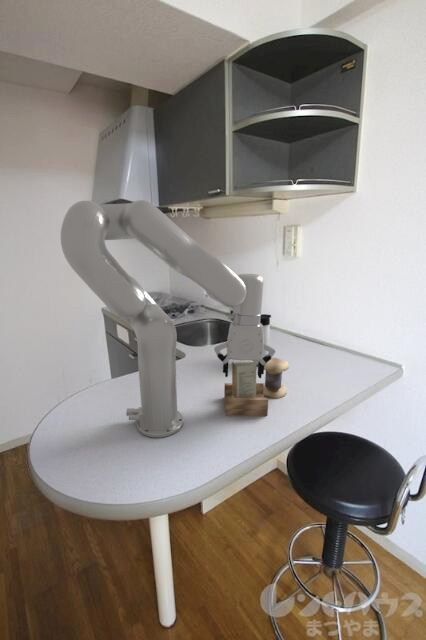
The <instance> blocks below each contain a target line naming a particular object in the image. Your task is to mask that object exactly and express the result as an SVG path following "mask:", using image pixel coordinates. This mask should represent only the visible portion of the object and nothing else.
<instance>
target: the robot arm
mask: <svg viewBox="0 0 426 640" xmlns="http://www.w3.org/2000/svg"><path fill="white" fill-rule="evenodd" d="M129 239H130V240H131V239H136V241H138V243H141V244H142V245H143V246H144V247H145V248H147V249H148V250H149V251H150V252H152V253H153V254H154V255H155V256H157V257H158V258H159V259H160V260H161V261H163V262H164V263H165V264H166V265H168V266H169V267H170V268H171V269H173V270H174V271H176V272H177V273H179V274H180V275H182V276H184V277H186V278H188V279H189V280H191V281H192V282H194V283H195V284H197V285H198V286H199V287H201V288H202V289H204V290H205V293H206V295H207V296H208V297H209V298H210V299H212V300H214V301H215V302H218V303H219V304H220V305H222V306H224V307H225V308H233V311H232V313H229V314H228V313H227V319H228V320H232V321H231V322H230V325H229V328H228V334H227V341H225V342H222V343H220V344H218V345H216V346H214V349H213V350H214V353H215V354H216V356H217V358H218V359H219V360H220V361H221V362H222V373H223V374H224V375H225V378H228V376H229V362H230V360H233V361H240V360H259V362H258V366H257V372H256V375H257V377H258V378H259V379H262V376H263V375H264V372H265V370H264V365H266V363H267V362H268V361H269V360H271V358H273V356H274V355H275V354H276V350H275V348H273V347H271V346H268V345H266V344H264V331H263V325H262V324H261V323H260V318H261V314H262V305H263V304H262V303H263V295H264V294H263V293H264V292H263V291H264V278H263V276H262V275H259V274H254V273H240V274H236V273H235V272H234V271H233V270H231V269H230V268H229V267H228V266H227V265H226V264H224V263H223V262H222V261H221V260H220V259H218V258H217V257H216V256H214V255H213V254H212V253H210V252H209V251H208V250H207V249H205V247H204V246H202V245H201V244H199V243H198V242H197V241H196V240H194V239H193V238H192V237H190V236H189V234H188V233H186V232H185V231H184V230H183V229H182V228H180V227H179V226H178V225H177V224H176V223H175V222H174V221H172V220H171V219H170V218H169V217H168V216H167V215H166V214H165V213H164V212H162V211H161V210H160V208H158V207H157V206H156V205H154V204H153V203H152V202H150V201H148V200H141V199H140V200H139V199H138V200H136V201H133V202H128V203H127V202H126V203H99V204H98V203H96V202H95V201H91V200H80V201H77V202H75V203H74V204H72V205H71V206H70V207H69V208H68V209H67V212H66V213H65V215H64V217H63V221H62V224H61V229H60V245H61V249H62V253H63V255H64V258H65V260H66V262H67V263H68V265H69V266H70V267H71V269H72V270H73V271H74V272H75V274H76V275H77V276H79V278H80V279H81V280H82V281H83V282H84V283H85V285H87V287H88V288H89V289H90V290H91V291H92V292H93V293H94V294H95V295H96V296H97V297H98V299H100V301H101V302H103V304H104V305H105V306H106V307H107V309H108V310H109V312H111V313H112V314H114V316H117V317H119V318H121V319H122V320H124V322H125V323H127V324H128V325H129V326H130V327H131V329H132V330H133V332H134V334H135V336H136V341H137V343H136V344H137V365H138V366H137V367H138V377H139V378H138V379H139V391H140V407H138V408H128V407H127V408H126V411H125V412H126V416H128V420H129V421H130V420H131V421H134V420H136V429H137V431H138V432H139V433H140V434H142V435H143V436H145V437H149V438H165V437H168V436H172V435H174V434H175V433H177V432H178V431H180V430H181V428H182V427H183V425H184V416H183V414H182V413H181V412H180V411H178V392H177V368H176V367H177V366H176V365H177V364H176V362H177V361H176V356H177V355H176V353H177V343H178V342H177V339H178V338H177V336H178V334H177V328H176V326H175V323H174V322H173V320H172V318H171V317H170V316H169V315H168V314H167V313H166V312H165V311H164V310H163V309H162V307H161V306H159V304H158V303H157V302H156V301H155V300H154V299H153V298H152V296H151V295H150V294H149V293H148V292H147V290H146V289H144V287H143V286H142V285H141V284H140V283H139V282H138V280H137V279H136V278H134V277H133V276H132V275H129V274H128V272H127V271H126V270H125V269H124V267H122V266H121V264H120V263H119V262H118V260H117V259H116V258H115V257H114V256H113V255H112V254H111V252H110V251H109V250H108V248H107V246H106V242H105V241H117V240H129ZM224 349H226V353H225V354H223V353H222V352H221V351H222V350H224ZM264 349H265V350H266V351H268V354H267V355H266V356H265V357H263V350H264Z"/></svg>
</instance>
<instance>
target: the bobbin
mask: <svg viewBox="0 0 426 640" xmlns="http://www.w3.org/2000/svg"><path fill="white" fill-rule="evenodd" d="M289 366H290V365H289V362H288V361H287V360H285V359H283V358H280V357H279V358H278V357H272V358H271V360H269V361H268V362H267V363H266V365H264V371H265V376H264V380H265V381H264V382H263V385H264V387H263V395H264V398H268V399H281V398H283V397H284V398H285V396H287V393H288V392H287V391H288V389H287V387H286V386H285V385H284V384H282V379H283V372H286V371H287V370H289Z"/></svg>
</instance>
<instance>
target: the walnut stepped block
mask: <svg viewBox="0 0 426 640" xmlns="http://www.w3.org/2000/svg"><path fill="white" fill-rule="evenodd" d="M263 383H264V382H263ZM263 383H257V382H256V398H232V382H231V383H229V382H227V383H224V413H225V416H229V417H230V416H232V417H233V416H234V417H235V416H236V417H237V416H238V417H239V416H241V417H242V416H246V417H247V416H255V417H256V416H268V411H269V410H268V409H269V398H268V397H265V396H264V395H263V387H264V385H263Z"/></svg>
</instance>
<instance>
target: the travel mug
mask: <svg viewBox="0 0 426 640" xmlns="http://www.w3.org/2000/svg"><path fill="white" fill-rule="evenodd" d="M270 318H272V314H264V313H263V314H262V313H261V318H260V323H261V324H262V325H263V331H264V344H266V345H268V346H269V345H270V325H271V323H270V322H271V320H270ZM267 354H268V351H266V350H265V349H264V350H263V357H265V356H266V355H267ZM252 361H254V362H255V363H256V367H258V362H259V360H252Z"/></svg>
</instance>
